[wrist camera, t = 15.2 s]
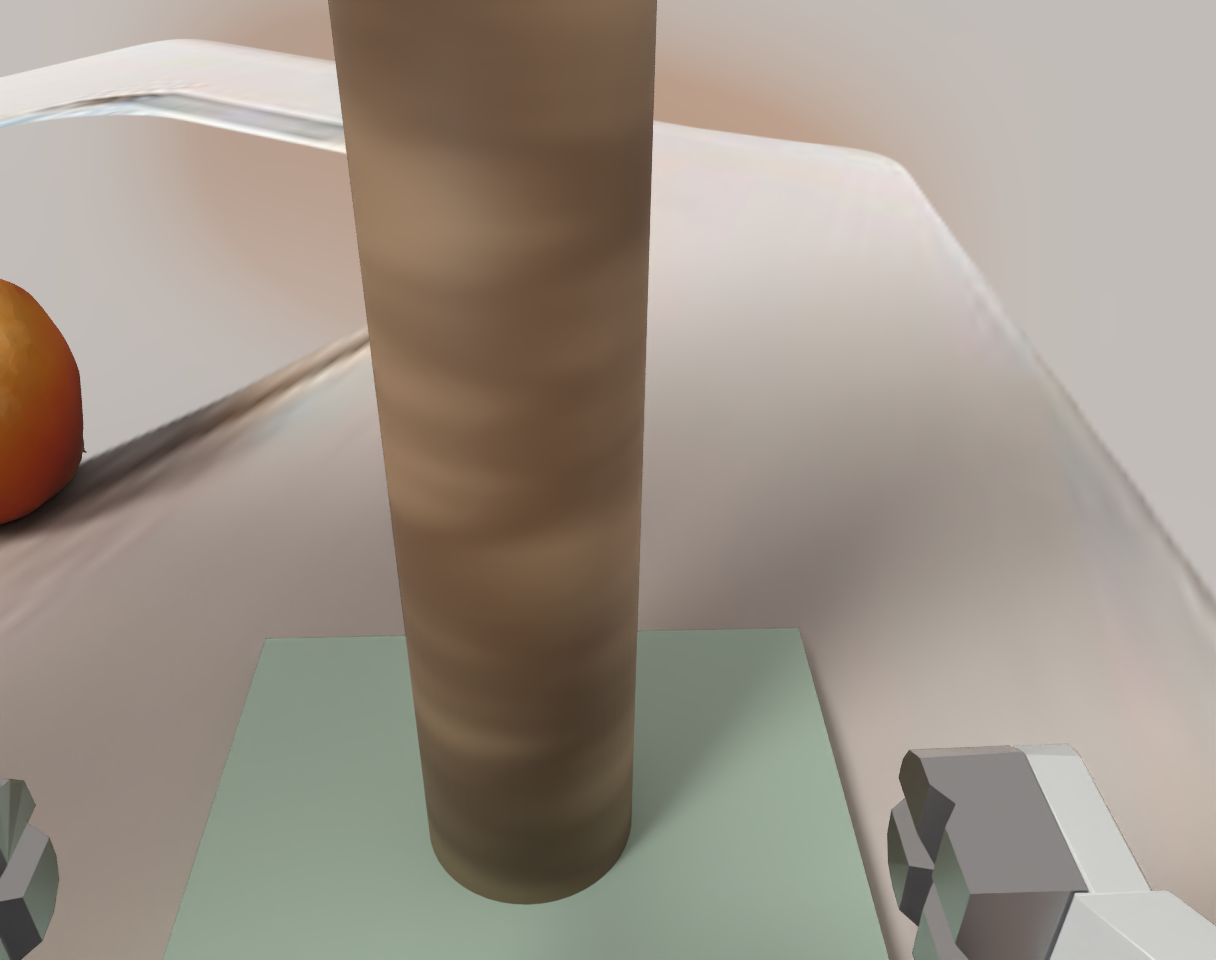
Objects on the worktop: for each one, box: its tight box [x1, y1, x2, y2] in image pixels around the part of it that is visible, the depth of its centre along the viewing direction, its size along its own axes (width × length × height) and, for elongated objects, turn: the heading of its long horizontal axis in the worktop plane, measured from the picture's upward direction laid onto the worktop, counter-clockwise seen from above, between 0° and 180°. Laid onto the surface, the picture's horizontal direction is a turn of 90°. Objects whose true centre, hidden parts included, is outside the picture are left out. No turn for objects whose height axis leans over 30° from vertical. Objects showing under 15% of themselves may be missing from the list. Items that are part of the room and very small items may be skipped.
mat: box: [163, 628, 889, 960], centre depth 25 cm, size 14×12×1 cm
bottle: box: [328, 0, 657, 905], centre depth 19 cm, size 4×4×20 cm
